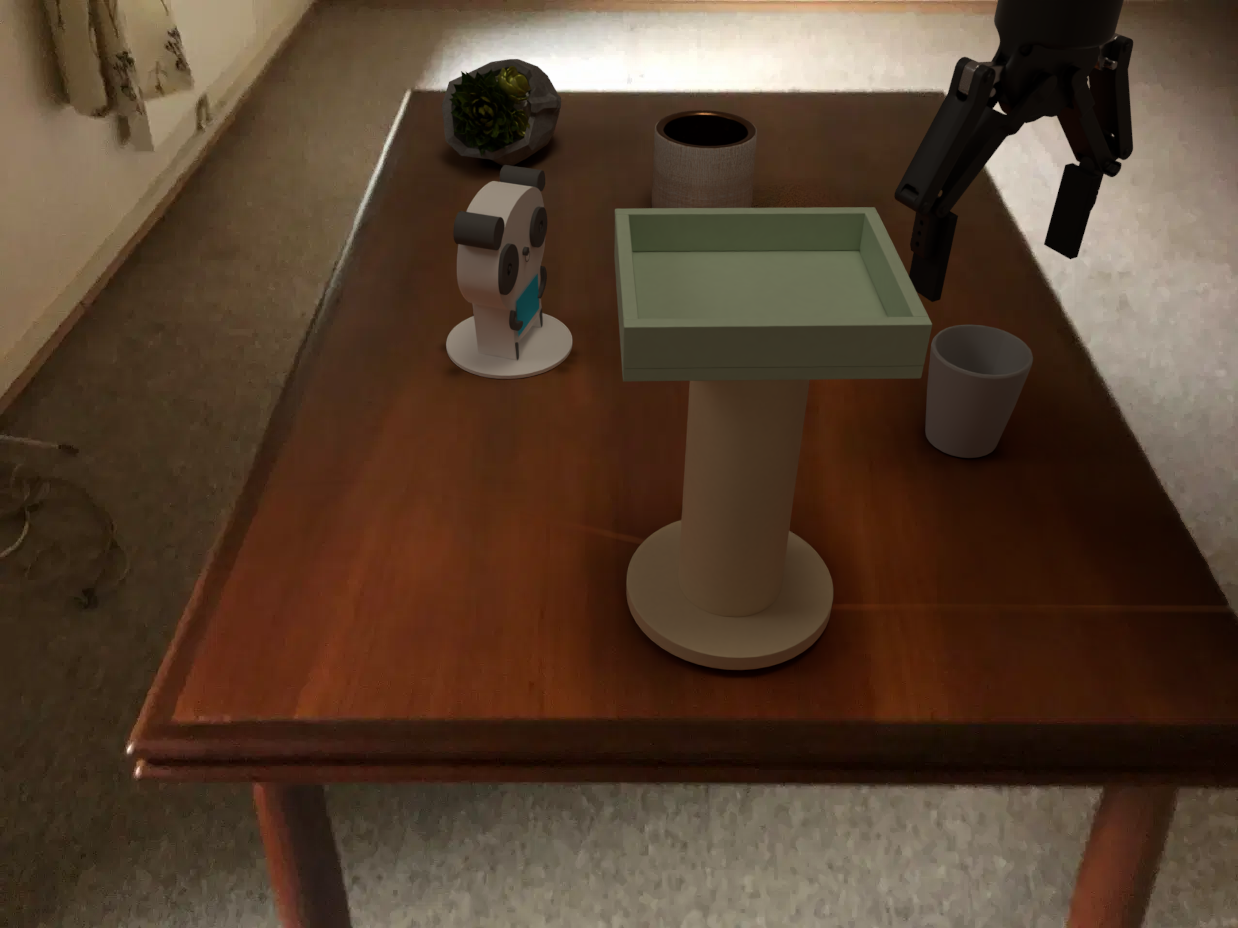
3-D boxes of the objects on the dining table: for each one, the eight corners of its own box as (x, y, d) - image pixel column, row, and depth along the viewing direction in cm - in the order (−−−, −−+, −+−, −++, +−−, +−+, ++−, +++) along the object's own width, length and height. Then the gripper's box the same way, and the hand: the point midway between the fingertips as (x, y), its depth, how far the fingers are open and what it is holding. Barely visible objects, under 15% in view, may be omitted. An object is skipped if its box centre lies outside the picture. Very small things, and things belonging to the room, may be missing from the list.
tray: (823, 524, 84) (874, 205, 68) (862, 668, 73) (934, 326, 57) (611, 527, 83) (614, 206, 68) (618, 672, 72) (624, 329, 57)
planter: (703, 184, 131) (708, 101, 125) (771, 216, 124) (779, 131, 118) (630, 209, 125) (632, 124, 119) (697, 245, 119) (703, 157, 113)
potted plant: (584, 116, 138) (559, 128, 124) (505, 181, 142) (472, 200, 128) (521, 32, 135) (489, 34, 121) (443, 100, 140) (403, 110, 126)
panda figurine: (543, 393, 97) (538, 232, 88) (422, 369, 100) (404, 210, 90) (589, 323, 106) (588, 171, 97) (476, 303, 109) (465, 153, 99)
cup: (923, 467, 89) (944, 376, 84) (898, 395, 97) (915, 308, 92) (1020, 467, 89) (1046, 377, 84) (987, 395, 97) (1009, 308, 92)
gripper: (1156, -66, 79) (1076, 216, 92) (872, -20, 69) (828, 287, 82) (1250, -40, 74) (1151, 255, 87) (957, 14, 64) (896, 336, 77)
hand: (994, 271), depth 85 cm, fingers open, 13 cm apart
